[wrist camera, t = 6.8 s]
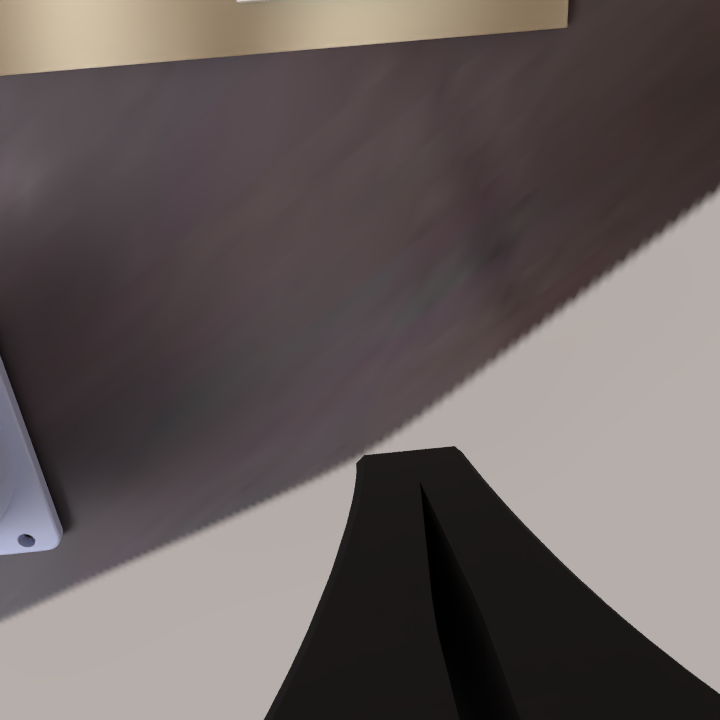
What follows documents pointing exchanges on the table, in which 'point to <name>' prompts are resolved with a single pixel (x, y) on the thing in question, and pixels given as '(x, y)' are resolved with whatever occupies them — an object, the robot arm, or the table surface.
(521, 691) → the robot arm
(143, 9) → the board
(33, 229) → the table surface
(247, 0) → the tile
